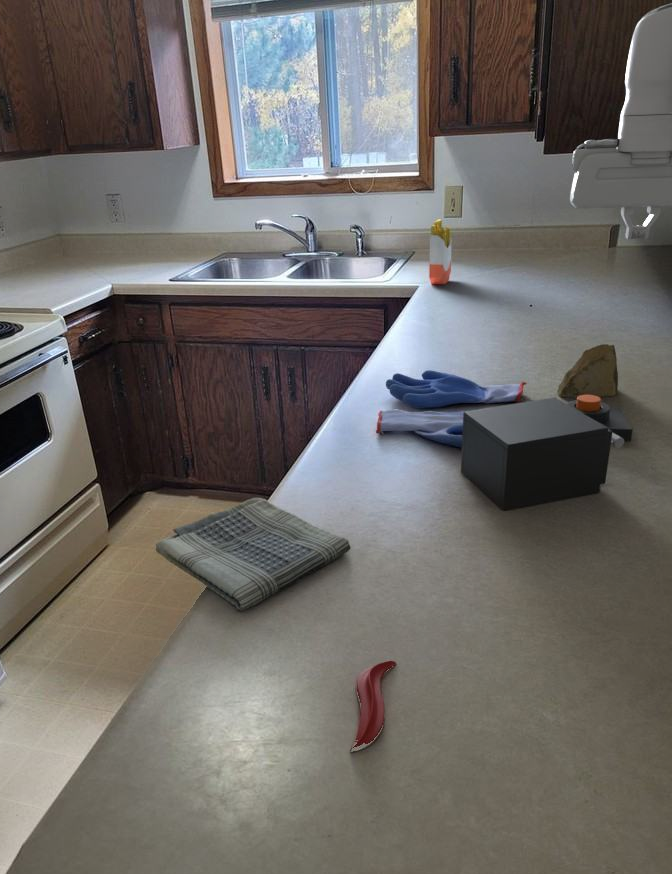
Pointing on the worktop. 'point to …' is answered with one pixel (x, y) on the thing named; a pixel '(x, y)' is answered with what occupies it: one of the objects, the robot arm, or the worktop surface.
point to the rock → (592, 374)
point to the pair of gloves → (439, 404)
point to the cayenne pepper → (371, 702)
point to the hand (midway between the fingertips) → (636, 238)
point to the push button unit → (609, 419)
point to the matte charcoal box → (532, 452)
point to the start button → (588, 403)
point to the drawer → (611, 441)
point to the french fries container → (440, 253)
